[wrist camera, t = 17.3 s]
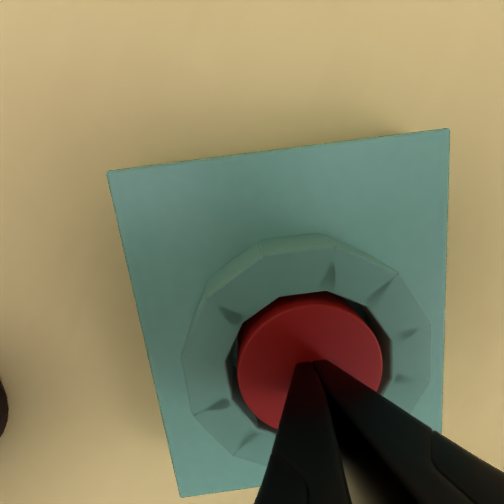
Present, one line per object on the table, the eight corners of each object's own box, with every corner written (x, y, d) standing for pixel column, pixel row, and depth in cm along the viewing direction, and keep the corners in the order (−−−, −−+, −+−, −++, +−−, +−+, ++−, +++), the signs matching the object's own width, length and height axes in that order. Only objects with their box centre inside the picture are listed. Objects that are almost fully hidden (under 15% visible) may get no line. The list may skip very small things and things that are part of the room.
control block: (410, 418, 14) (476, 511, 10) (188, 449, 14) (169, 556, 10) (410, 136, 11) (503, 116, 7) (130, 171, 11) (71, 169, 7)
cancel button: (361, 385, 11) (385, 425, 9) (245, 401, 11) (247, 444, 9) (357, 274, 10) (382, 295, 8) (229, 291, 10) (227, 316, 8)
